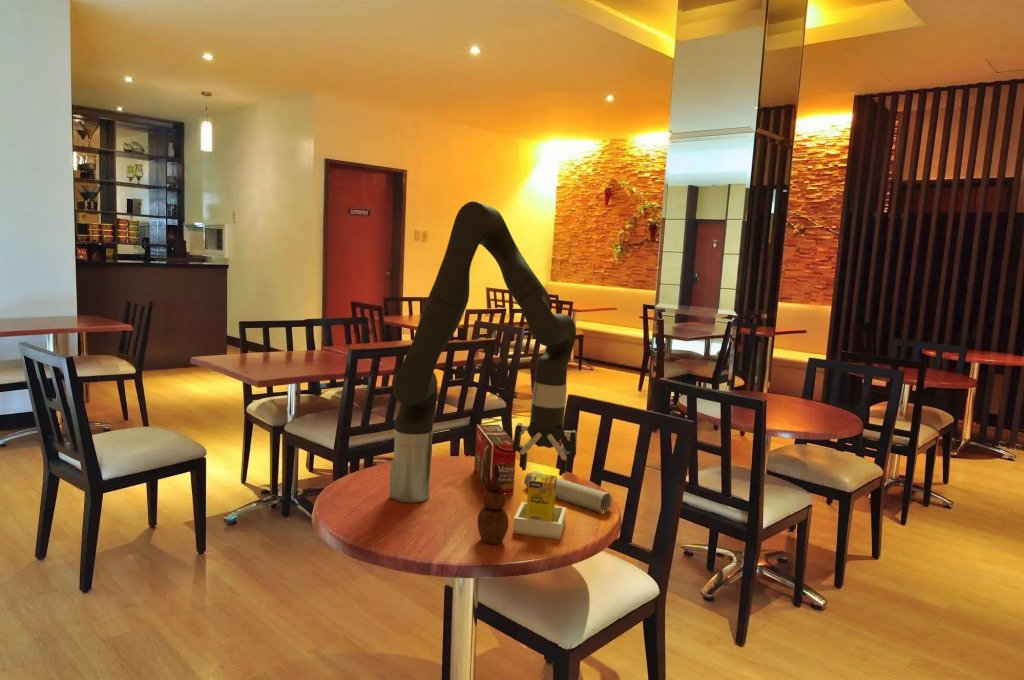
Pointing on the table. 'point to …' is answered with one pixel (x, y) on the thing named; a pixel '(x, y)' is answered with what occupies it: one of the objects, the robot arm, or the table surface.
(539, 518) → the supplement box
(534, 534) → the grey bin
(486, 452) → the ice cream box
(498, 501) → the wooden figurine
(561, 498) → the tube
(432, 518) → the table surface
